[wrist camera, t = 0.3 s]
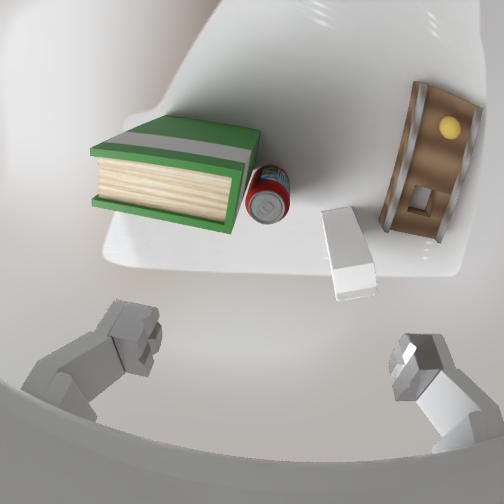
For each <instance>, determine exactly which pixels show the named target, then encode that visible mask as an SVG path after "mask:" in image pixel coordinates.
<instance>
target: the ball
mask: <svg viewBox="0 0 504 504" xmlns="http://www.w3.org/2000/svg"><path fill="white" fill-rule="evenodd" d="M439 129H440V132H441V134H442V135H443V136H444V137H445V138H447V139H455V138H457V137H458V136H459V135H460V132H461V127H460V124H459V122H458V121H457V120H456V119H455V118H453V117H450V116H447V117H444V118H443V119H442V120H441V121H440V124H439Z"/></svg>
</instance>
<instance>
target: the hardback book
mask: <svg viewBox="0 0 504 504" xmlns="http://www.w3.org/2000/svg"><path fill="white" fill-rule="evenodd" d="M260 132H261V131H260V130H255V129H250V128H244V127H239V126H233V125H227V124H221V123H215V122H209V121H202V120H195V119H187V118H179V117H171V116H162V117H160V118H157V119H155V120H152V121H150V122H147V123H145V124H142V125H140V126H138V127H135V128H133V129H131V130H128V131H126V132H124V133H122V134H120V135H117V136H115V137H113V138H111V139H109V140H106V141H104V142H102V143H100V144H98V145H96V146H94V147H92V148H90V156H95V157H98V192H99V193H98V195H96V196H95V197H94V198H93V199H92V206H94V207H99V208H104V209H109V210H114V211H119V212H124V213H129V214H134V215H139V216H144V217H149V218H154V219H159V220H164V221H169V222H174V223H179V224H184V225H189V226H193V227H198V228H203V229H208V230H213V231H217V232H222V233H227V234H231V232H232V229H233V226H234V223H235V220H236V217H237V214H238V211H239V209H240V206H241V203H242V200H243V197H244V194H245V191H246V188H247V186H248V183H249V180H250V177H251V174H252V171H253V167H254V162H255V157H256V152H257V147H258V142H259V137H260Z"/></svg>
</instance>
